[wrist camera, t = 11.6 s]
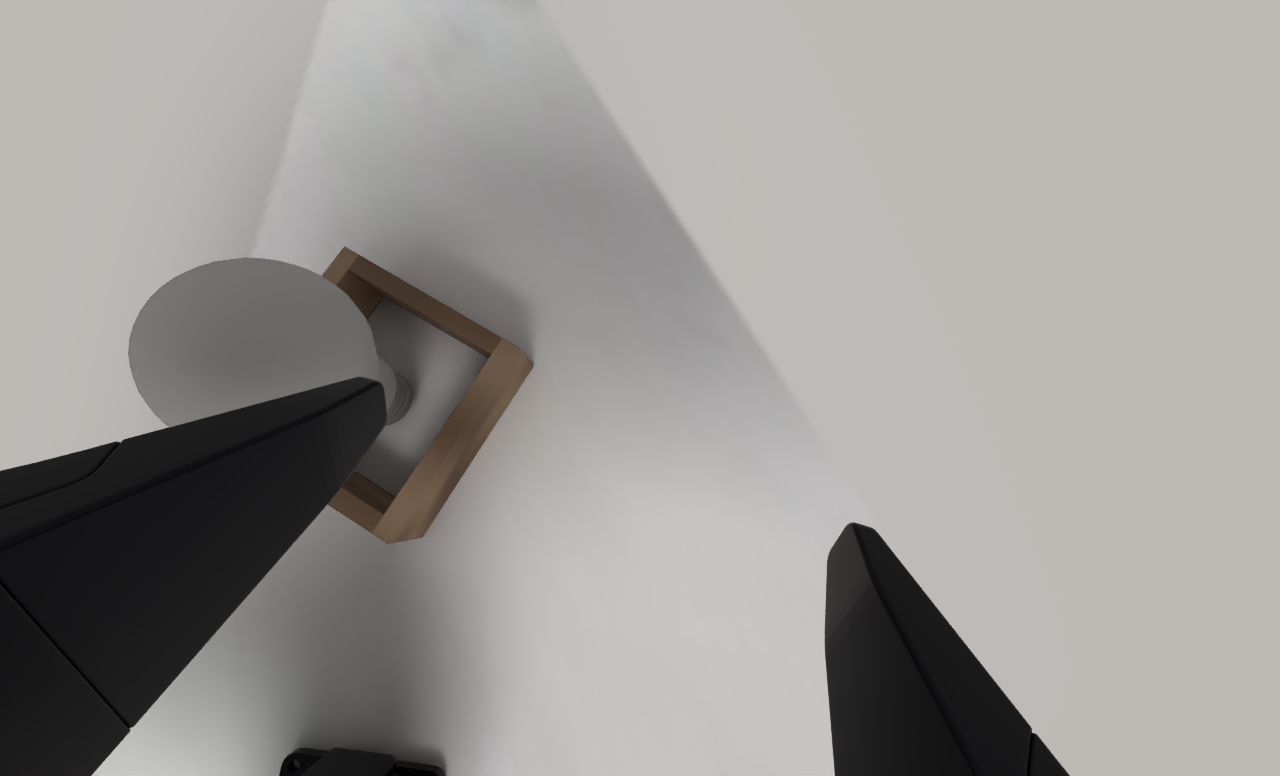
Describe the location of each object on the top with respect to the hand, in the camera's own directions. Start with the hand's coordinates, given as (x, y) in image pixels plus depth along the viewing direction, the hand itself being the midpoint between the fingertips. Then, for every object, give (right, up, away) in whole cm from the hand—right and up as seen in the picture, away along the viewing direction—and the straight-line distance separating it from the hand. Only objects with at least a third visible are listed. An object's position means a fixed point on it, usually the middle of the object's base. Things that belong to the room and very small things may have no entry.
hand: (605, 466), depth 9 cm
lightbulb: (-11, +1, +14) cm, 18 cm away
